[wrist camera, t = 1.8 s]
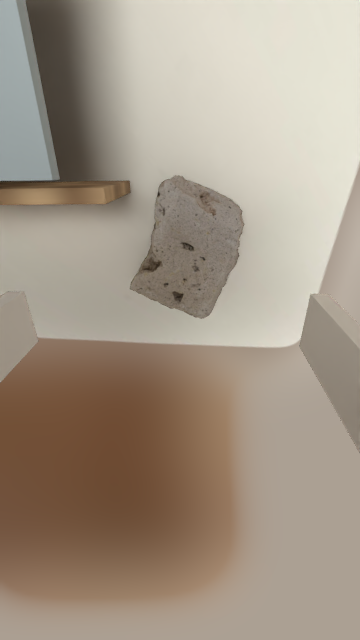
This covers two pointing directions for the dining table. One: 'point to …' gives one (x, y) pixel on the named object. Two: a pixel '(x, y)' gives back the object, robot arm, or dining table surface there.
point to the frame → (62, 192)
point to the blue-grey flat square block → (22, 102)
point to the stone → (190, 247)
